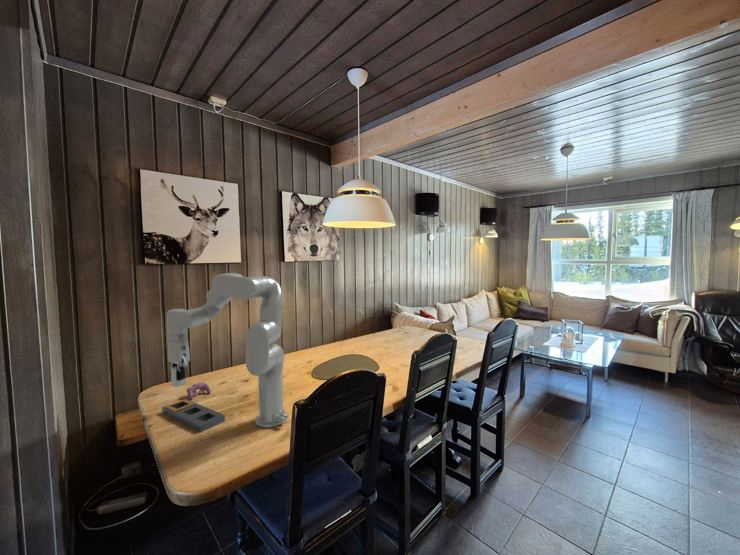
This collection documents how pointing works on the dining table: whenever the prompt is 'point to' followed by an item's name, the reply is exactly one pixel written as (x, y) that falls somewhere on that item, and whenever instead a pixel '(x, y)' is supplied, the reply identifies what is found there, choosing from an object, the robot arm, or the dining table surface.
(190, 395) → the video game controller
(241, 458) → the dining table surface
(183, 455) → the dining table surface
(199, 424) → the grey flat slotted plate
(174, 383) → the steel block
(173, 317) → the robot arm
